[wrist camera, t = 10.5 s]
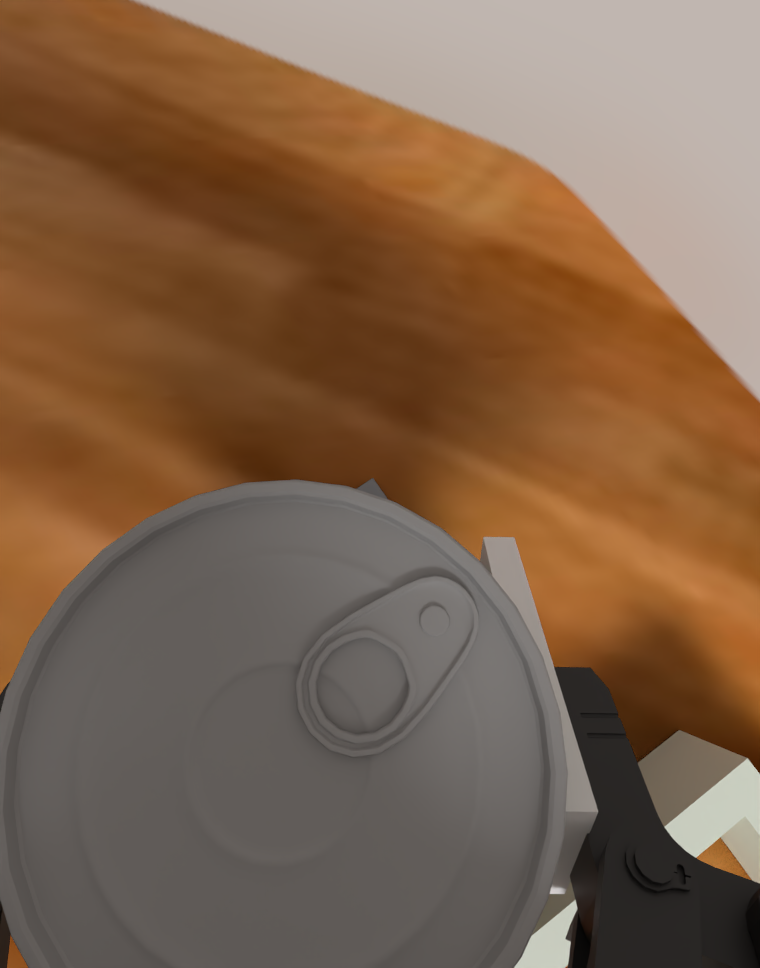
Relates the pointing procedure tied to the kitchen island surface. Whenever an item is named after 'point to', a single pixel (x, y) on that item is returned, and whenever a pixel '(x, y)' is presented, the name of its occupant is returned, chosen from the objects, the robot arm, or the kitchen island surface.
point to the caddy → (675, 824)
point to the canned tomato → (280, 747)
